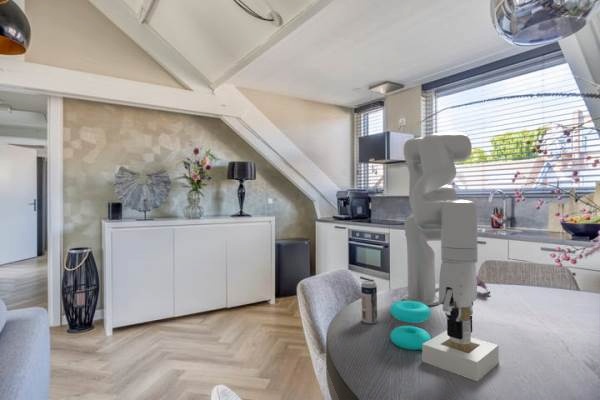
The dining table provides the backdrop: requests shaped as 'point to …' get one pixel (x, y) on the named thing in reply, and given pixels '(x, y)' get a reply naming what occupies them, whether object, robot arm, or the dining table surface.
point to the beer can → (369, 302)
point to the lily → (481, 283)
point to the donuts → (410, 334)
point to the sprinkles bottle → (466, 325)
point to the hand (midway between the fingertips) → (459, 333)
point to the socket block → (461, 356)
